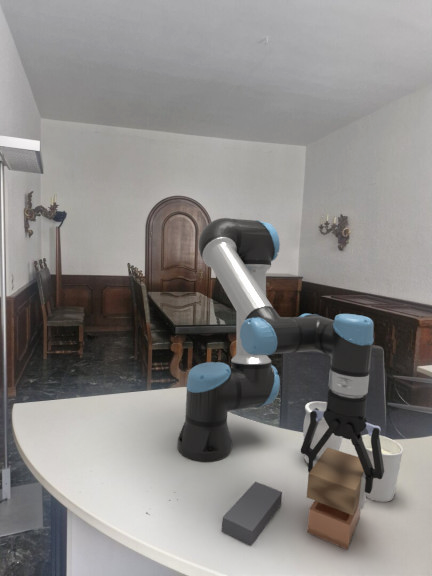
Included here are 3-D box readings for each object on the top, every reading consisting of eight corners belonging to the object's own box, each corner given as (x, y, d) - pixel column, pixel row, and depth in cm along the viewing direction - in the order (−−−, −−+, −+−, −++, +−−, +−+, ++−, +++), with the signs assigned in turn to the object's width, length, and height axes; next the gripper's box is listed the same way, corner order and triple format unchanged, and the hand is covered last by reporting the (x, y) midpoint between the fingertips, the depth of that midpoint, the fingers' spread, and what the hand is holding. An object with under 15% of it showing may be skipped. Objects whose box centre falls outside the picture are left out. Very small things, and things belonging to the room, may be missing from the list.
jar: (341, 475, 102) (347, 419, 100) (300, 468, 104) (305, 413, 102) (337, 454, 112) (342, 403, 111) (300, 449, 114) (304, 398, 113)
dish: (307, 532, 81) (309, 509, 80) (323, 503, 90) (325, 483, 89) (347, 549, 77) (350, 525, 76) (359, 518, 86) (362, 496, 85)
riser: (221, 531, 79) (222, 517, 79) (254, 493, 92) (255, 481, 92) (251, 545, 76) (252, 531, 76) (281, 504, 89) (282, 492, 89)
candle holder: (394, 510, 89) (399, 459, 88) (349, 493, 94) (354, 445, 93) (399, 488, 98) (405, 442, 96) (358, 474, 103) (363, 430, 101)
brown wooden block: (306, 497, 79) (308, 473, 79) (325, 468, 90) (327, 447, 90) (353, 515, 74) (355, 490, 74) (366, 482, 86) (369, 460, 85)
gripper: (289, 384, 83) (281, 486, 85) (404, 412, 71) (391, 528, 74) (301, 375, 89) (293, 470, 91) (408, 399, 78) (396, 507, 80)
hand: (337, 496), depth 83 cm, fingers closed on brown wooden block, 9 cm apart
